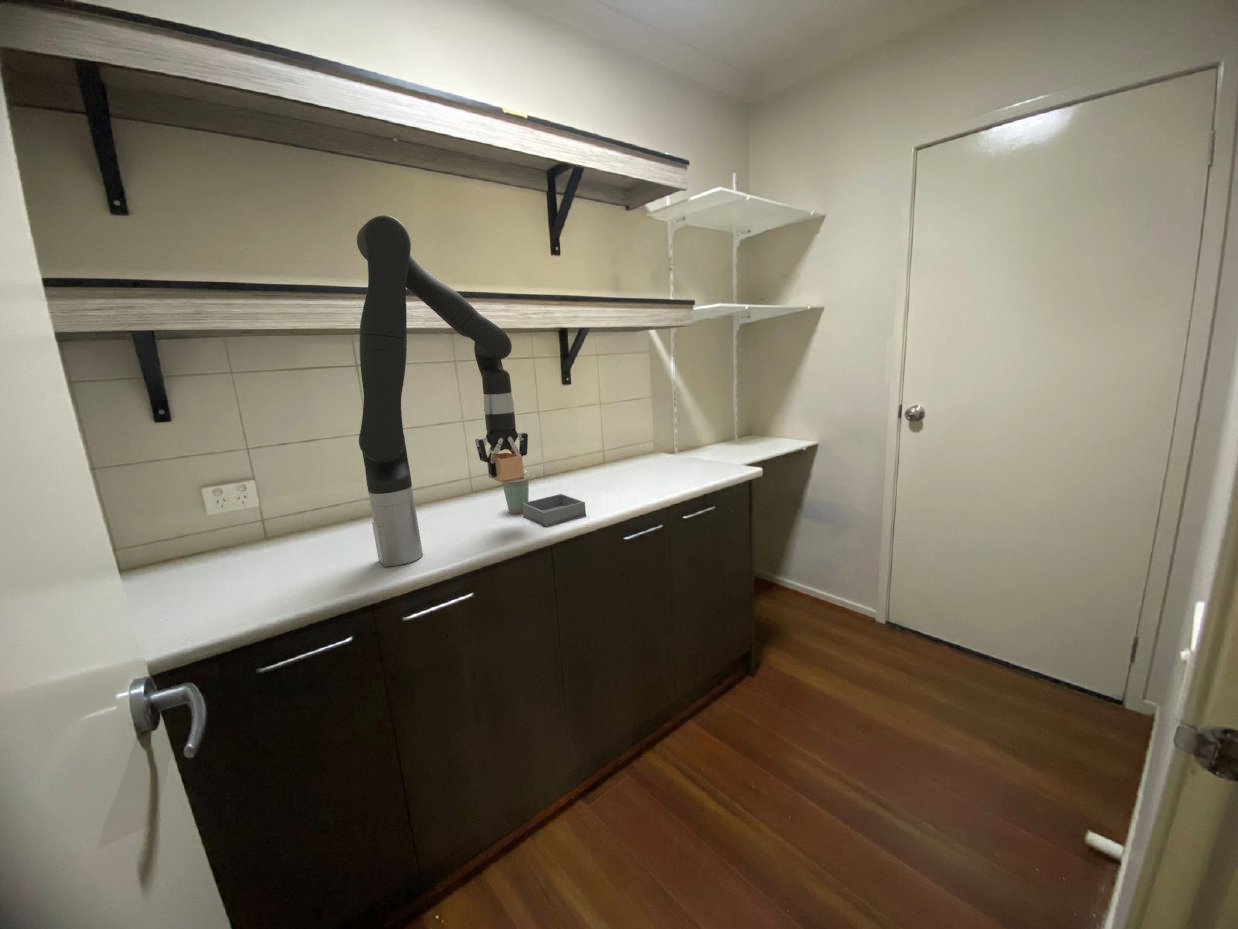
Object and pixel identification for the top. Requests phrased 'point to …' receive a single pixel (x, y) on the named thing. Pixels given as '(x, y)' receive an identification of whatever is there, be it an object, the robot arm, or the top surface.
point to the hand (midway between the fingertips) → (505, 474)
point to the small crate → (508, 467)
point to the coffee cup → (517, 493)
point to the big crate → (553, 509)
